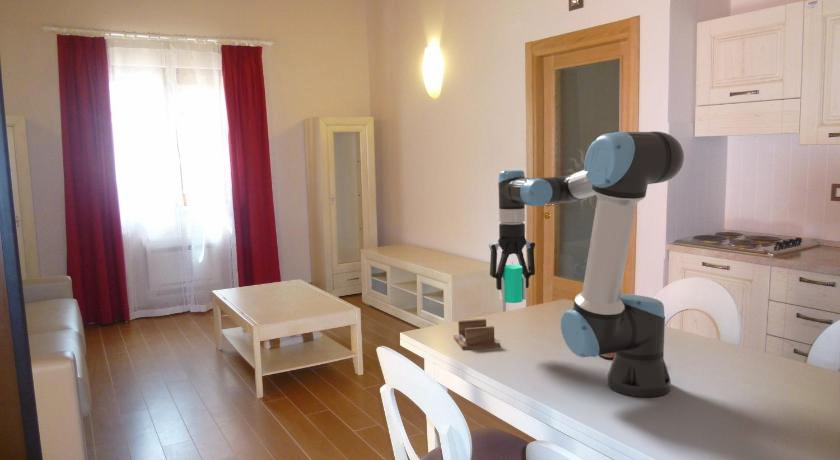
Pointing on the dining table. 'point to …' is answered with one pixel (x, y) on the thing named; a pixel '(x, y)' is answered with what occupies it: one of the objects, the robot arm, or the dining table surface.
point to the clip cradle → (475, 334)
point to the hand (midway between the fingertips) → (512, 299)
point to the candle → (513, 283)
